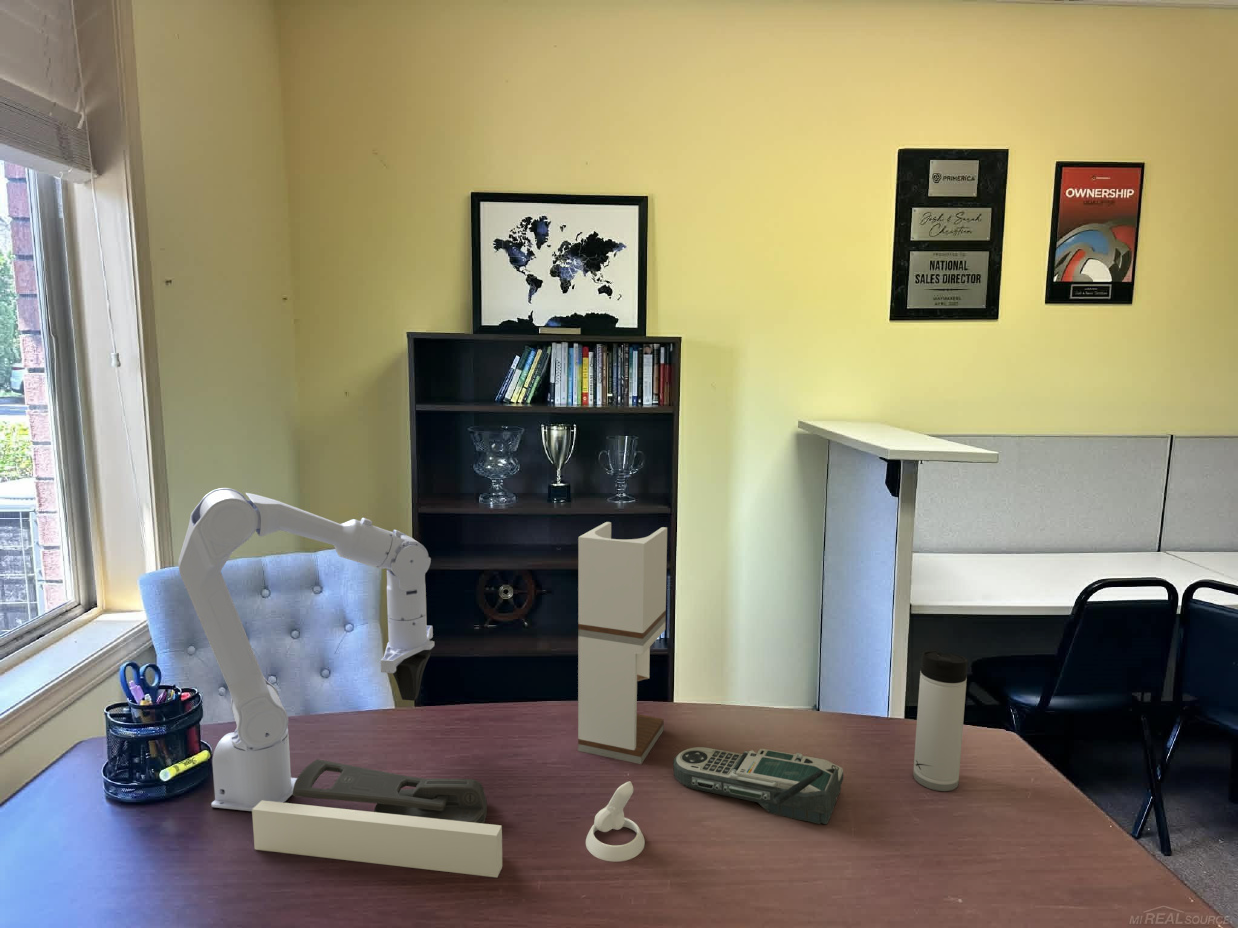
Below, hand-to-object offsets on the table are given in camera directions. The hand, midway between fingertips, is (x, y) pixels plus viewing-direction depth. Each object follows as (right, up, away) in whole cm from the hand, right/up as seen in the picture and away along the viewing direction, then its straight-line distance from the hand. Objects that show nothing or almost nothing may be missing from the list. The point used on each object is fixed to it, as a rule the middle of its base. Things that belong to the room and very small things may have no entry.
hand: (409, 698), depth 118 cm
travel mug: (+80, -11, -5) cm, 81 cm away
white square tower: (+33, -9, +6) cm, 35 cm away
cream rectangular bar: (+2, -13, -22) cm, 26 cm away
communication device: (+52, -12, -7) cm, 54 cm away
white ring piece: (+32, -13, -19) cm, 40 cm away
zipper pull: (+2, -12, -15) cm, 19 cm away
